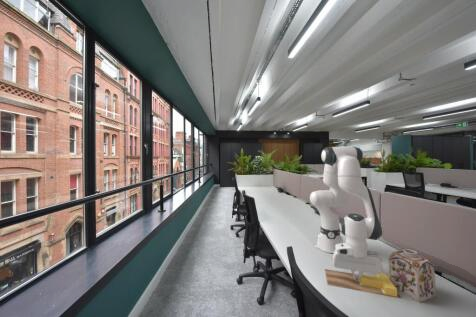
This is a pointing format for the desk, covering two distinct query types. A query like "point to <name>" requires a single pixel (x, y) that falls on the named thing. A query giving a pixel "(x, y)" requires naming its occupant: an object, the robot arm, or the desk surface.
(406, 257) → the decorative jar
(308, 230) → the desk surface
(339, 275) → the board
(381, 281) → the t block
